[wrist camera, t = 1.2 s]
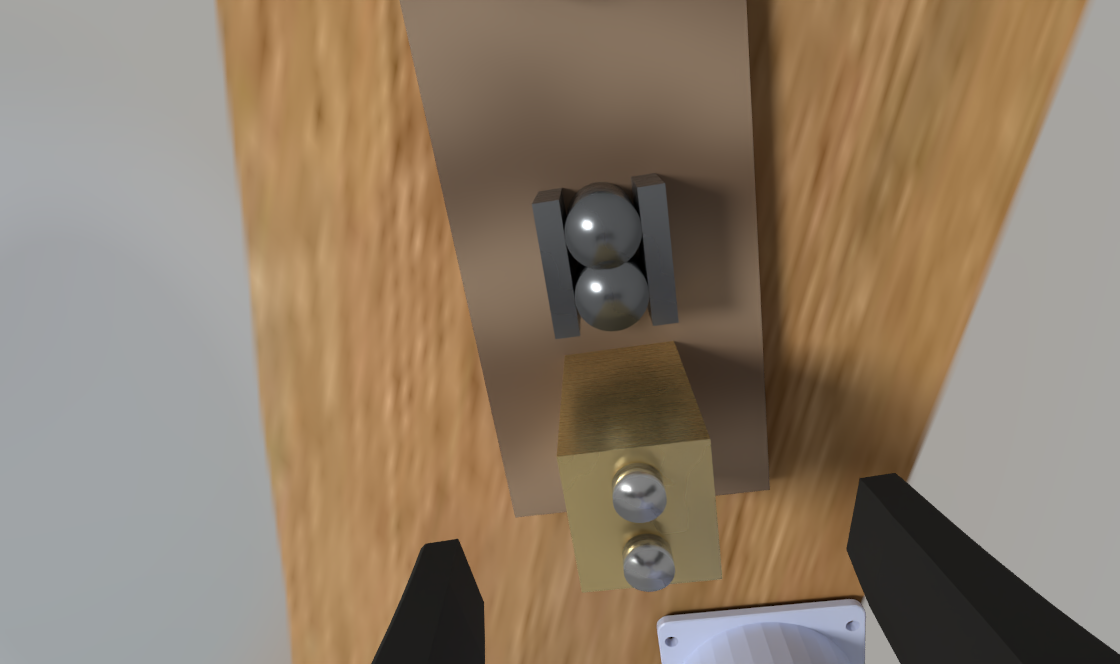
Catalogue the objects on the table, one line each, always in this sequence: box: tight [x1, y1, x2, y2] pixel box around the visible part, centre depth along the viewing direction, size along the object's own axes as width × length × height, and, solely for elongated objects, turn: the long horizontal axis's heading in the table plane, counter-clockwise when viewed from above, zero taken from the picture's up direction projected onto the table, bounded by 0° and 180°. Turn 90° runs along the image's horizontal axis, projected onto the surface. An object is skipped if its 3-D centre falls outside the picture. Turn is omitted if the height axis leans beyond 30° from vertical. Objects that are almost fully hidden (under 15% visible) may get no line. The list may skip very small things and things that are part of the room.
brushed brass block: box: [557, 341, 722, 592], centre depth 17 cm, size 4×4×7 cm
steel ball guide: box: [532, 173, 679, 339], centre depth 15 cm, size 14×3×2 cm, turn 9°
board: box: [400, 0, 770, 517], centre depth 18 cm, size 22×9×1 cm, turn 9°
